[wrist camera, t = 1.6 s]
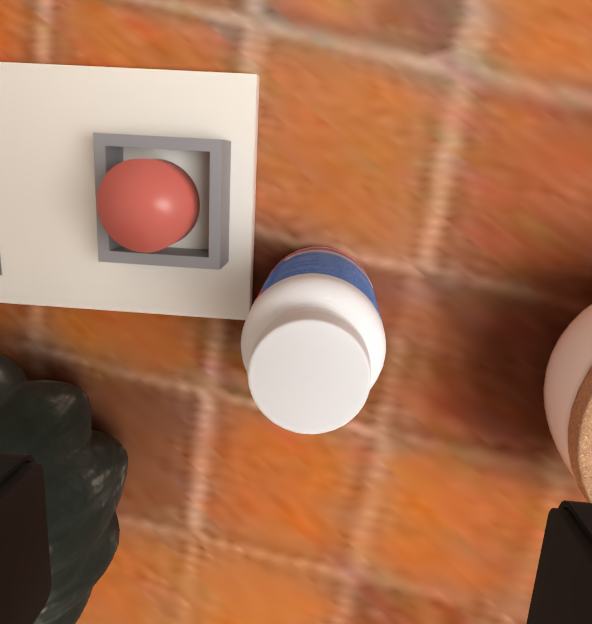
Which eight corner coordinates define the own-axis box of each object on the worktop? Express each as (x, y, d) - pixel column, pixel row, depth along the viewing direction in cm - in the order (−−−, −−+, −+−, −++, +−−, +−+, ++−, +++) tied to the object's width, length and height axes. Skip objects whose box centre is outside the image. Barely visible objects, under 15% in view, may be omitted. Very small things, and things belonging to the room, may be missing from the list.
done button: (114, 156, 23) (94, 156, 21) (200, 161, 23) (187, 161, 21) (117, 242, 24) (98, 249, 22) (199, 247, 24) (187, 255, 22)
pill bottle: (256, 251, 27) (212, 301, 17) (368, 238, 26) (387, 283, 17) (271, 358, 28) (238, 458, 19) (378, 348, 27) (400, 446, 18)
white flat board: (-192, 55, 26) (-254, 42, 23) (259, 76, 24) (249, 66, 22) (-153, 287, 28) (-204, 300, 26) (251, 316, 27) (242, 333, 25)
